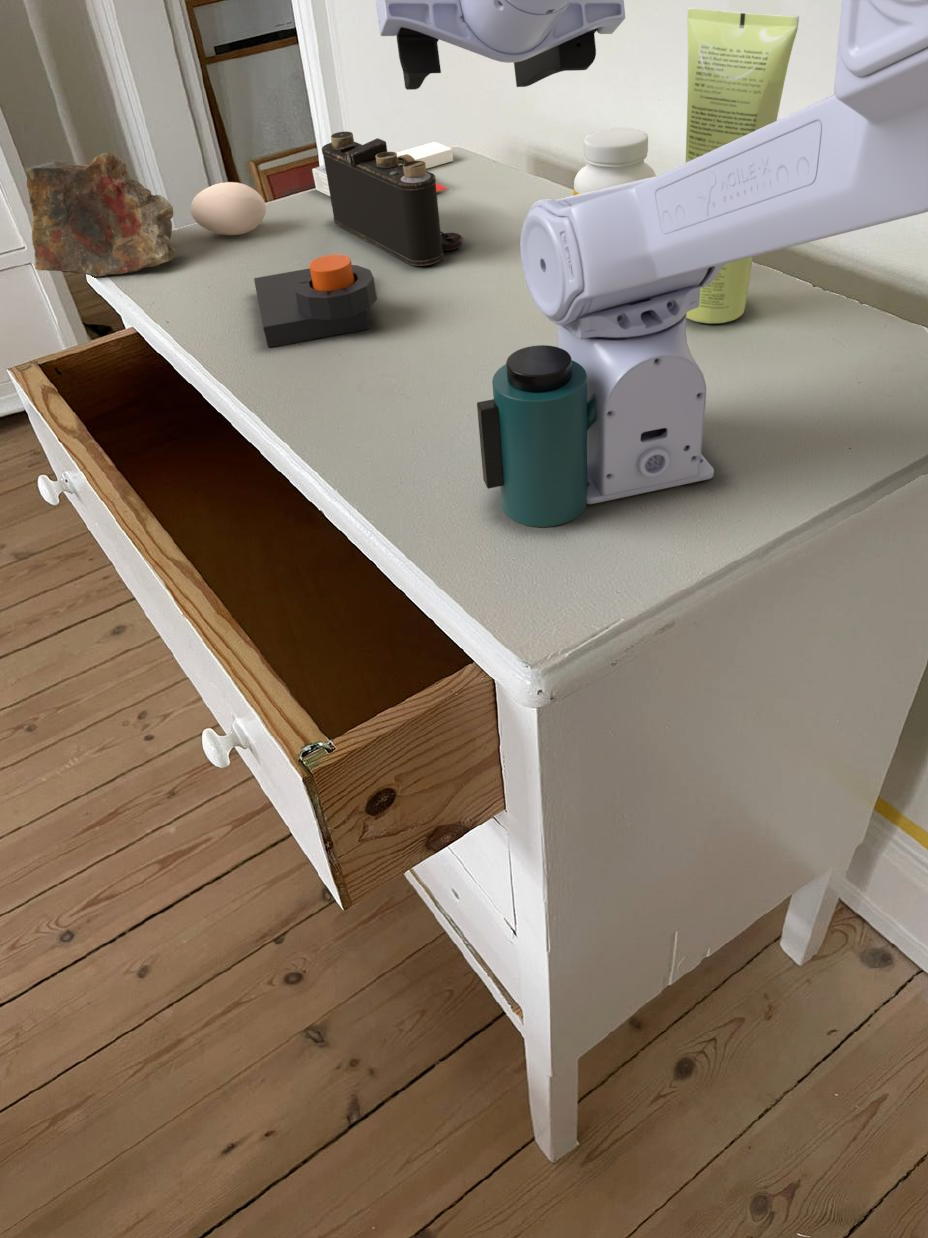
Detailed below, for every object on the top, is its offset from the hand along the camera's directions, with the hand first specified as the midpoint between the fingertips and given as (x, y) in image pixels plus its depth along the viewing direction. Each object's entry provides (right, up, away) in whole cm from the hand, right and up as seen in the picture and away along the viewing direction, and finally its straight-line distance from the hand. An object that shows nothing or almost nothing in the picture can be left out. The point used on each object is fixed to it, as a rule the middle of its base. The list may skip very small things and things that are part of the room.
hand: (464, 72), depth 64 cm
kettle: (+5, -29, -8) cm, 31 cm away
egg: (-19, +3, +28) cm, 34 cm away
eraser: (-4, +15, +44) cm, 46 cm away
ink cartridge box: (-13, +7, +33) cm, 36 cm away
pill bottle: (+12, -9, +14) cm, 21 cm away
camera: (-6, -1, +26) cm, 26 cm away
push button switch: (-12, -11, +15) cm, 22 cm away
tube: (+19, -13, +9) cm, 25 cm away
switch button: (-10, -10, +11) cm, 18 cm away
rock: (-31, 0, +29) cm, 43 cm away
